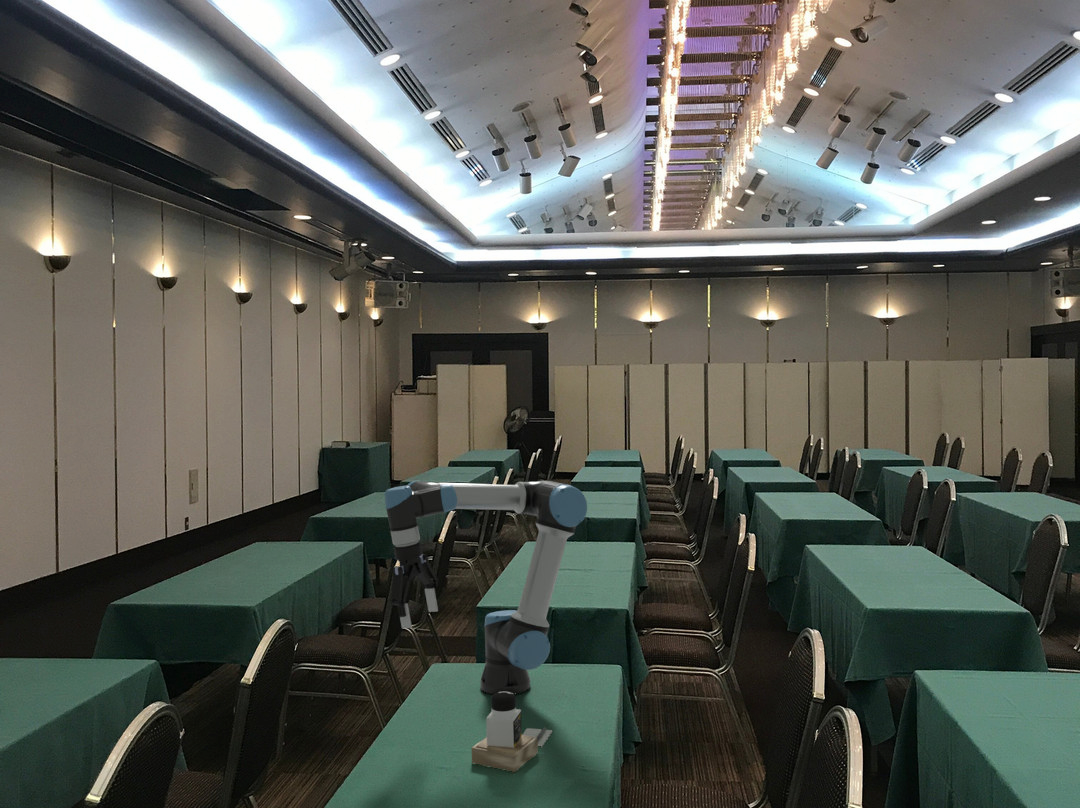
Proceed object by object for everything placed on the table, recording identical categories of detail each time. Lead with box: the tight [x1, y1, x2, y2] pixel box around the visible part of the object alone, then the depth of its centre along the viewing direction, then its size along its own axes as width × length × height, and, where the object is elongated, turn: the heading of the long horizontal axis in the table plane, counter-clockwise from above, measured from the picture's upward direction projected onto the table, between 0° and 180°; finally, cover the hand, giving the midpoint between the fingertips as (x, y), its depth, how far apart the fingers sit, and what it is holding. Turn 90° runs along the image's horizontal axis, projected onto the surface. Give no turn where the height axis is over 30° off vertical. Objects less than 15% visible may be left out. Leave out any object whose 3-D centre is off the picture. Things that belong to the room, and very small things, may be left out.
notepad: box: [522, 726, 553, 748], centre depth 239 cm, size 10×7×2 cm
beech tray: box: [471, 735, 539, 773], centre depth 227 cm, size 12×12×4 cm
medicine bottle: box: [485, 691, 523, 748], centre depth 226 cm, size 7×7×12 cm
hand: (420, 619), depth 249 cm, fingers open, 13 cm apart
